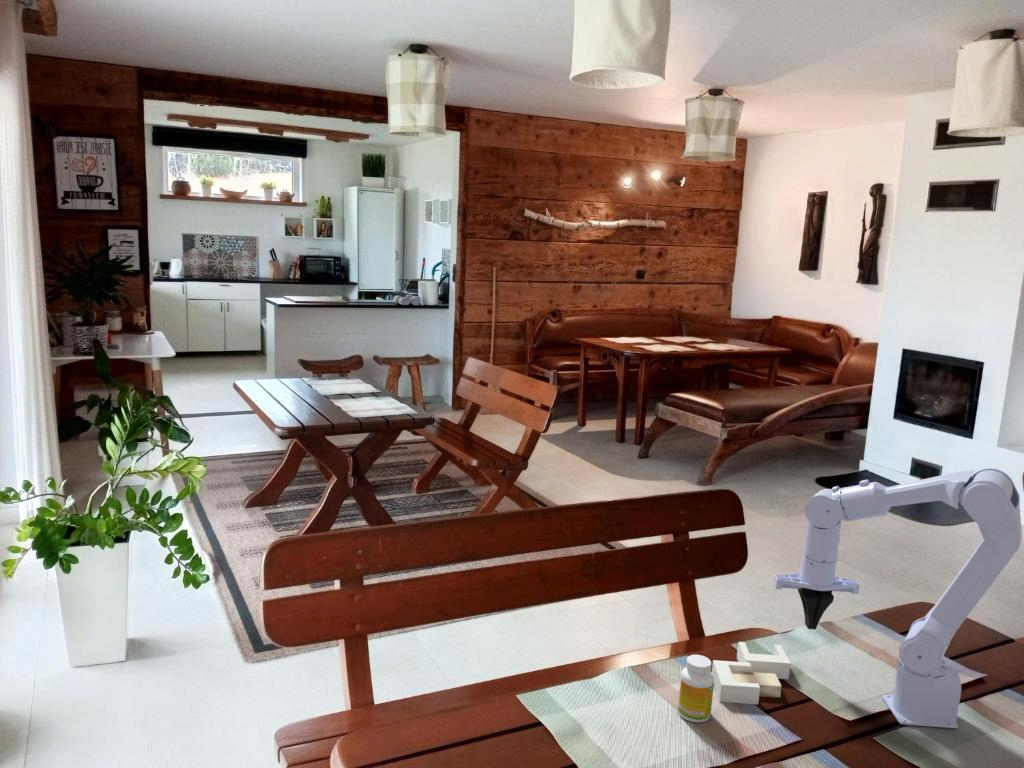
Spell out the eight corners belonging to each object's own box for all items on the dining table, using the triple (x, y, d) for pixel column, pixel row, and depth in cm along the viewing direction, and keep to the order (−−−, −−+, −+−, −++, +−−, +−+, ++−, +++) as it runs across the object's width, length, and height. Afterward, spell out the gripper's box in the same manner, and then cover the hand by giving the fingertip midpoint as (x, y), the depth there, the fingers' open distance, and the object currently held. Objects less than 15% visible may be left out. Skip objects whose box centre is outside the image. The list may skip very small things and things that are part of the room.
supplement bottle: (711, 725, 132) (716, 671, 130) (677, 720, 133) (682, 666, 131) (709, 707, 137) (715, 654, 135) (677, 702, 138) (682, 650, 136)
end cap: (747, 678, 146) (749, 662, 145) (758, 704, 138) (760, 687, 138) (711, 676, 146) (713, 660, 146) (719, 701, 138) (721, 684, 138)
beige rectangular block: (774, 686, 145) (775, 673, 144) (780, 699, 141) (781, 686, 140) (728, 683, 145) (730, 670, 144) (733, 696, 141) (734, 682, 141)
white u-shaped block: (736, 657, 153) (738, 641, 152) (779, 660, 153) (780, 644, 152) (744, 676, 147) (746, 660, 146) (788, 679, 146) (790, 663, 146)
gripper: (852, 549, 147) (843, 618, 150) (772, 545, 148) (764, 613, 151) (867, 566, 140) (857, 637, 143) (783, 561, 141) (774, 632, 144)
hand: (810, 626), depth 146 cm, fingers closed
